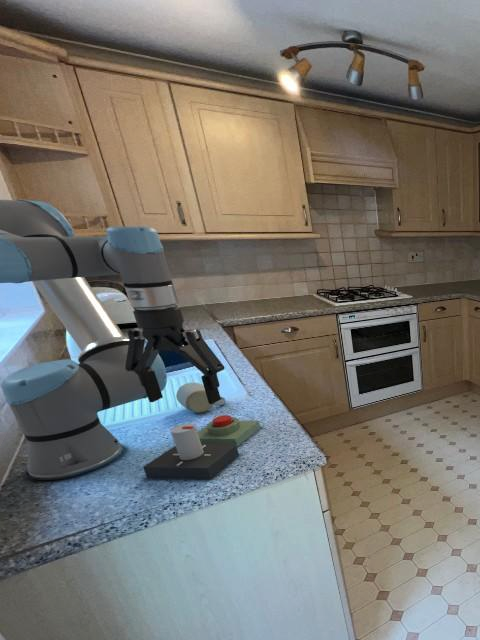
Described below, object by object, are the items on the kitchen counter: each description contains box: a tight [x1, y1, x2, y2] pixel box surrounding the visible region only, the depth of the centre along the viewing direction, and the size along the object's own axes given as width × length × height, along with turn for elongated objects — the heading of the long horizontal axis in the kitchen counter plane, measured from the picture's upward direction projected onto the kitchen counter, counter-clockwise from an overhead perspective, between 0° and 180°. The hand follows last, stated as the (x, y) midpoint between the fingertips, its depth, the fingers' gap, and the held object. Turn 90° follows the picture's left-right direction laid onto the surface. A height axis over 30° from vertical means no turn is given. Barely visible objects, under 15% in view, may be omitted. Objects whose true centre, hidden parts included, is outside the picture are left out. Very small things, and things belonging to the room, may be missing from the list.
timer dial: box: [170, 423, 204, 460], centre depth 91 cm, size 4×4×7 cm
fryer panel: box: [142, 444, 240, 480], centre depth 93 cm, size 14×10×3 cm
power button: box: [212, 414, 232, 427], centre depth 105 cm, size 4×4×2 cm
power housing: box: [197, 416, 261, 447], centre depth 106 cm, size 12×10×4 cm
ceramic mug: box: [176, 382, 226, 414], centre depth 121 cm, size 11×8×8 cm
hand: (185, 400), depth 91 cm, fingers open, 13 cm apart
